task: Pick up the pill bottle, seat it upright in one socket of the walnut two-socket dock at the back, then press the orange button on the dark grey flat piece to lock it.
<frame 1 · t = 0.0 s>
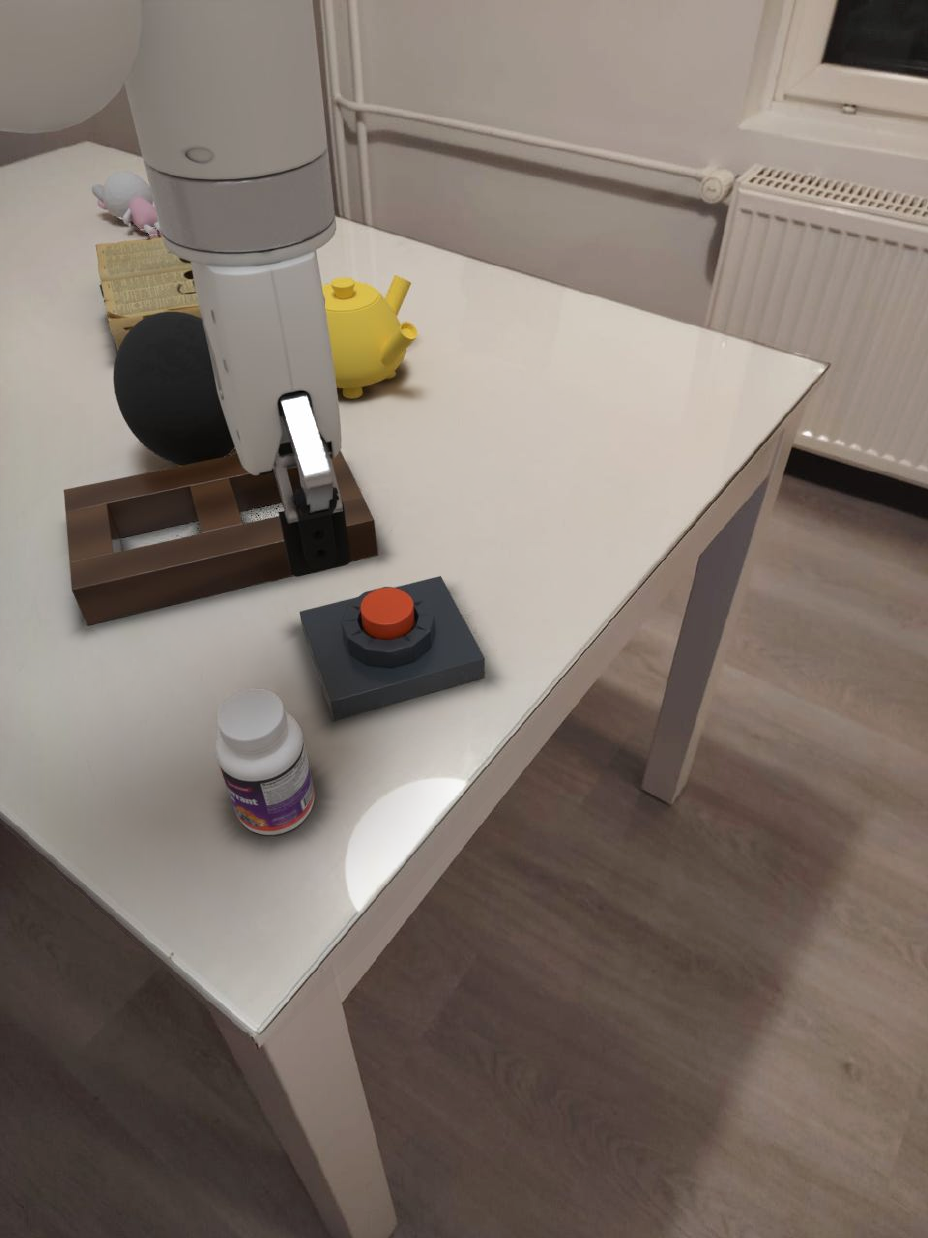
hand: (300, 514, 49), 20 cm above the table, tool pointing down, fingers open, 9 cm apart
teapot: (363, 376, 100), on the table
book: (176, 310, 112), on the table
decorative egg: (201, 458, 88), on the table
dock: (224, 539, 79), on the table
dark grey flat piece: (391, 653, 69), on the table
pill bottle: (276, 804, 59), on the table
toy: (143, 226, 133), on the table
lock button: (387, 613, 66), point 4 cm above the table, slide at 0.1 cm
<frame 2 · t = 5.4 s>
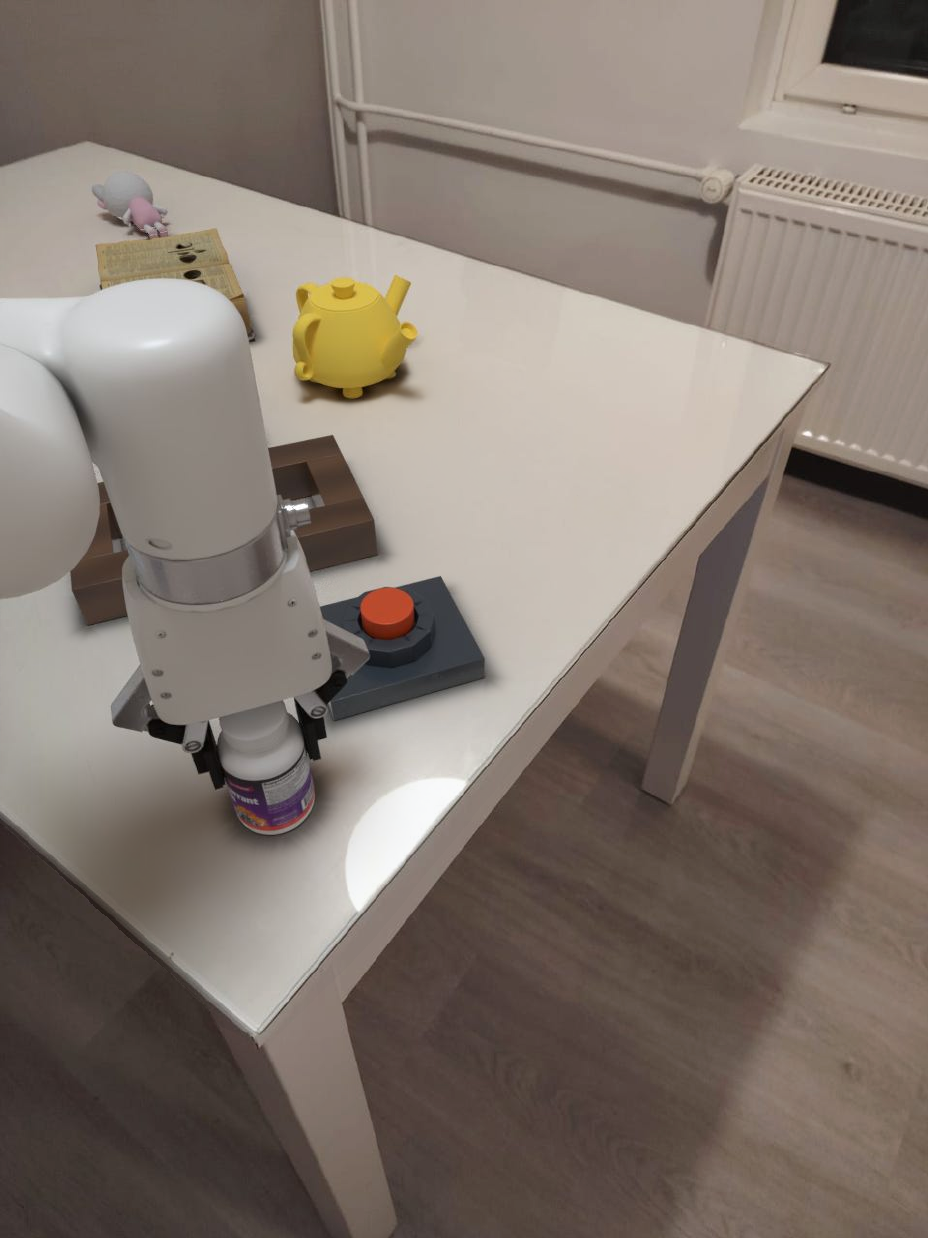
hand: (263, 755, 56), 5 cm above the table, tool pointing down, fingers closed on pill bottle, 5 cm apart
pill bottle: (276, 804, 59), on the table, touching gripper
everything else where it was.
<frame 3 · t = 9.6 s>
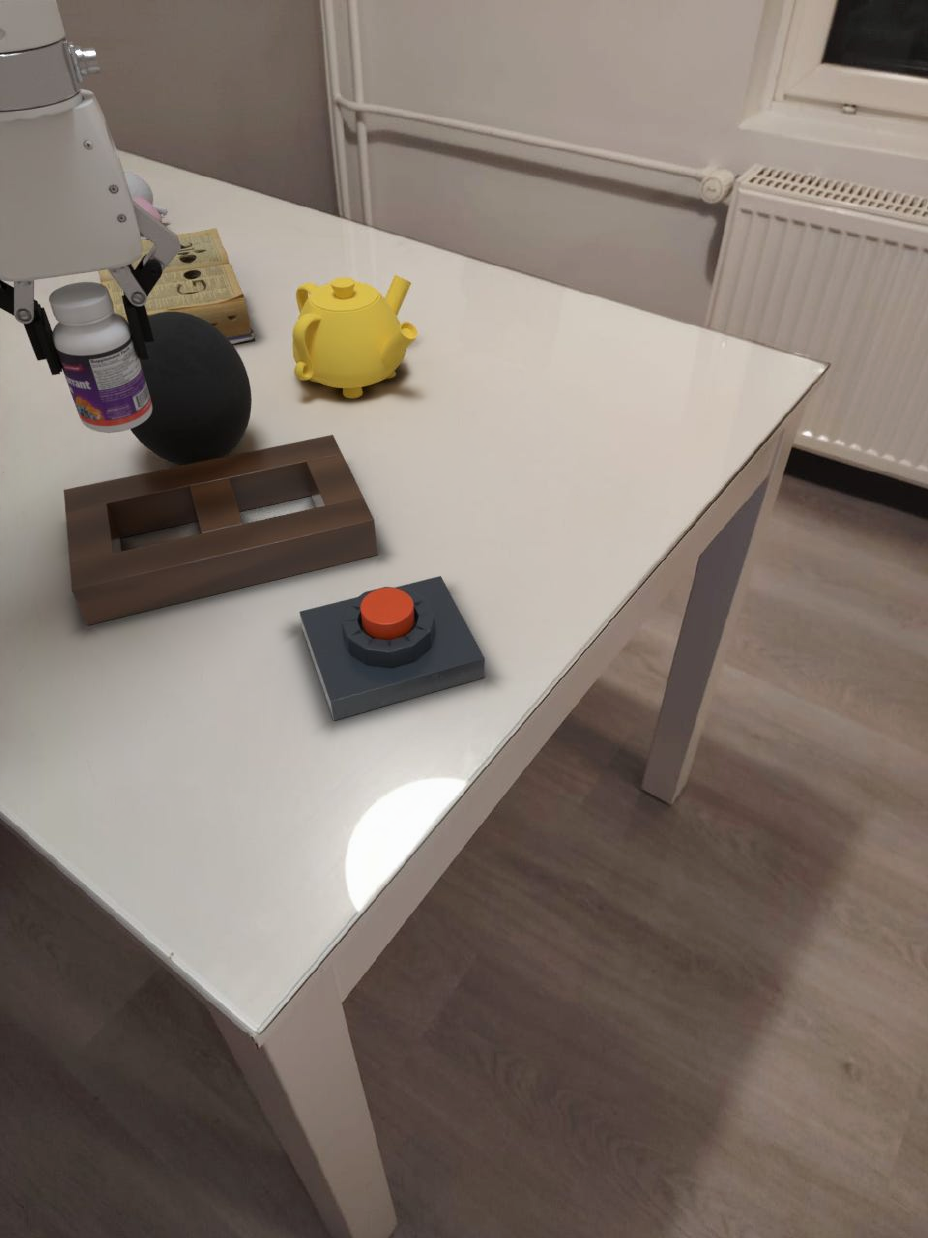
hand: (99, 356, 64), 19 cm above the table, tool pointing down, fingers closed on pill bottle, 5 cm apart
pill bottle: (118, 418, 67), point 14 cm above the table, touching gripper
everything else where it was.
when the fingers open (5 cm above the table, at t = 14.2 s): pill bottle stays where it is, resting in dock.
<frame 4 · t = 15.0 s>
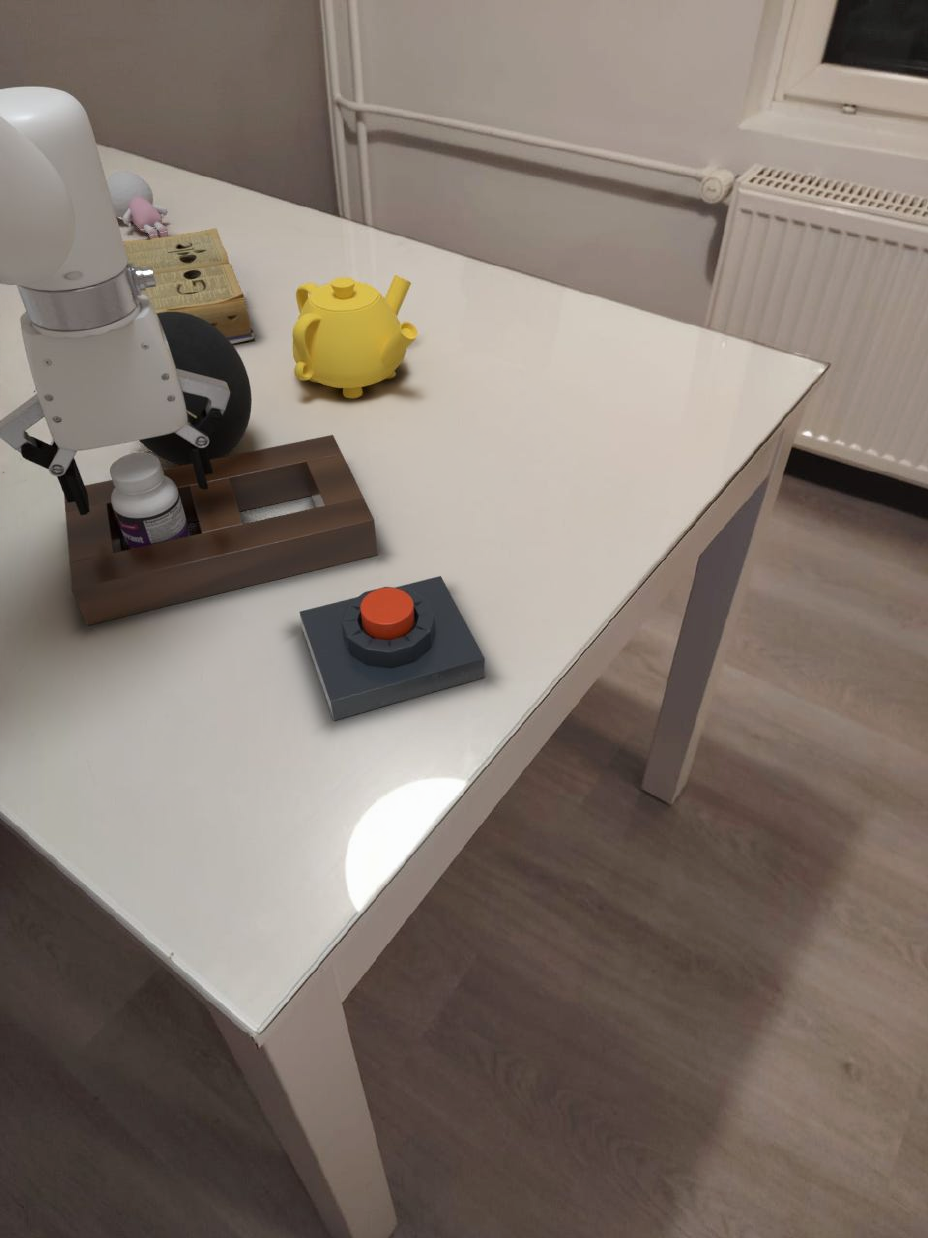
hand: (144, 492, 73), 7 cm above the table, tool pointing down, fingers open, 9 cm apart
pill bottle: (165, 558, 77), resting in dock
everything else where it was.
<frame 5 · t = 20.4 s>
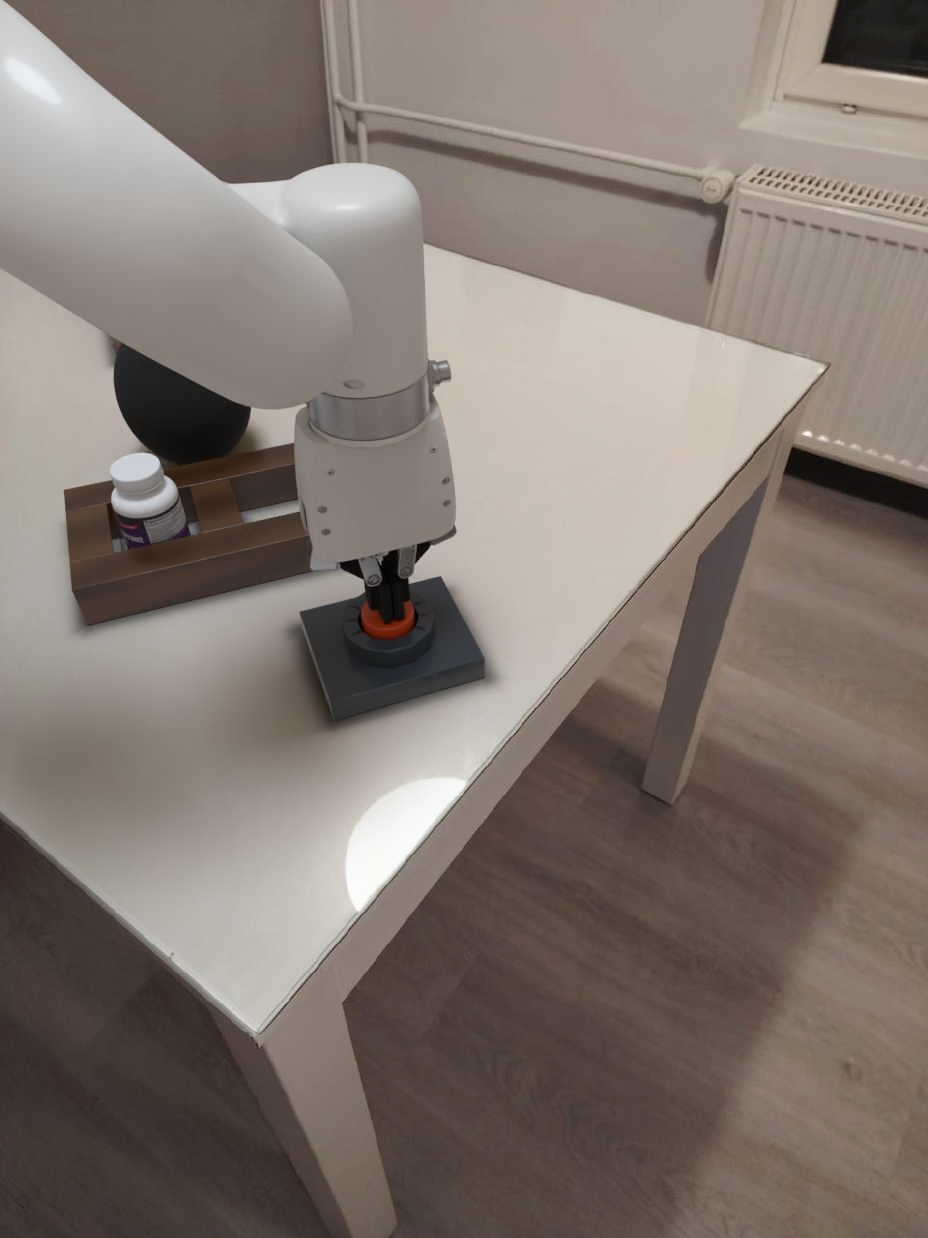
hand: (388, 609, 65), 5 cm above the table, tool pointing down, fingers closed
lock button: (388, 618, 66), point 4 cm above the table, slide at -0.5 cm, touching gripper
everything else where it was.
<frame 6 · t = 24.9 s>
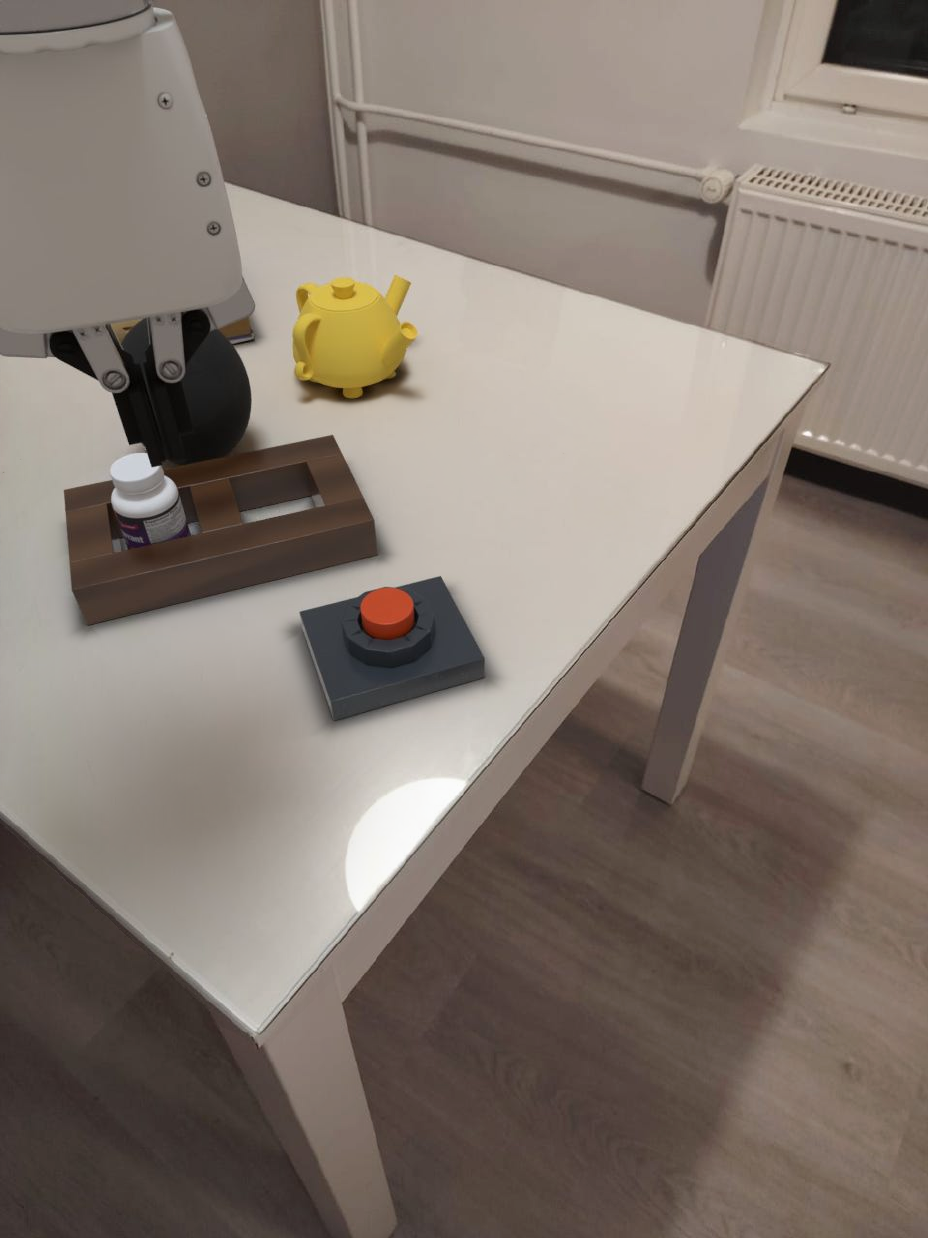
hand: (165, 448, 41), 27 cm above the table, tool pointing down, fingers closed
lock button: (387, 613, 66), point 4 cm above the table, slide at 0.1 cm
everything else where it was.
at the end: pill bottle 0.5 cm from the target spot in the dock, point 0.0 cm above the dock's base; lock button pushed in 1.1 cm at the most during the clip, back to where it started at the end; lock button slide at 0.1 cm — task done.
